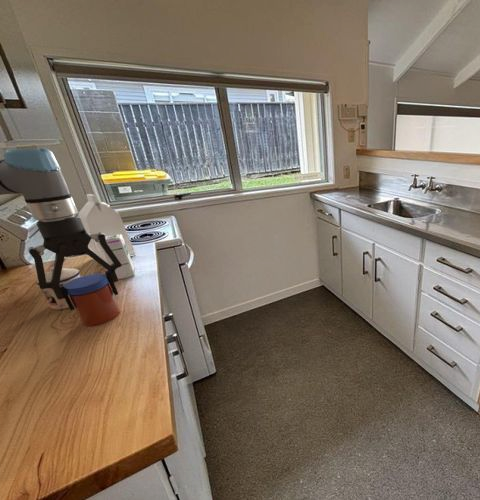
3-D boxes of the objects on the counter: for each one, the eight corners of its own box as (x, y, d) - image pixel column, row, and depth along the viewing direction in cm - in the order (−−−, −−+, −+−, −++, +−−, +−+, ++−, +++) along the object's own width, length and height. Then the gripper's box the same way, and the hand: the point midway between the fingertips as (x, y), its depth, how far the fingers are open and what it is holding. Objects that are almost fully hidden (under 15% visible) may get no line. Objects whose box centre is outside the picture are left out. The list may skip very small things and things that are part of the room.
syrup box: (135, 275, 100) (121, 237, 95) (114, 280, 97) (98, 241, 92) (135, 270, 105) (122, 233, 99) (115, 274, 101) (100, 236, 96)
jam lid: (109, 287, 73) (106, 281, 72) (64, 299, 68) (61, 292, 67) (109, 276, 79) (106, 270, 78) (68, 286, 74) (65, 280, 73)
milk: (92, 259, 116) (66, 196, 107) (125, 249, 125) (103, 191, 115) (102, 265, 110) (75, 199, 100) (136, 255, 119) (114, 193, 109)
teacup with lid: (47, 304, 84) (29, 269, 80) (86, 291, 91) (71, 258, 86) (55, 317, 77) (35, 280, 73) (96, 302, 84) (81, 267, 80)
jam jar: (81, 330, 72) (64, 294, 68) (83, 316, 78) (68, 282, 74) (120, 317, 76) (106, 283, 72) (119, 305, 82) (106, 273, 78)
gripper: (-13, 232, 57) (39, 325, 65) (116, 210, 71) (145, 288, 80) (-11, 226, 61) (37, 313, 70) (110, 206, 76) (137, 280, 84)
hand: (94, 300), depth 75 cm, fingers closed on jam lid, 8 cm apart
